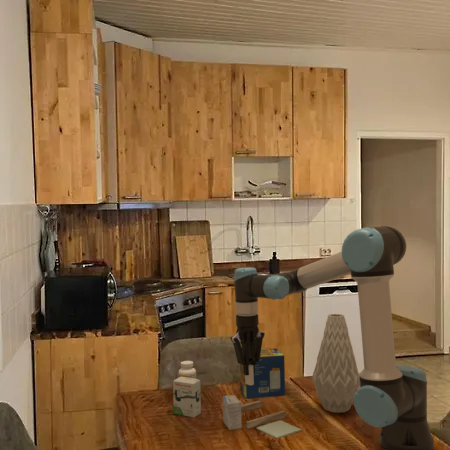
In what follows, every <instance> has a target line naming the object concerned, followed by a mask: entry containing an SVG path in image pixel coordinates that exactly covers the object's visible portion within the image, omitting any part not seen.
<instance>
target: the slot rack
mask: <svg viewBox="0 0 450 450" xmlns="http://www.w3.org/2000/svg"><path fill="white" fill-rule="evenodd" d="M259 408H262V400H256V401H252V402H249V403H245V404H241V413H244V412H248V411H253V410H256V409H259ZM221 412H222V413H221V414H222V417H223V409H222V411H221ZM286 418H287V411H286V410H281V411H277V412H274V413H271V414H268V415H264V416H261V417H256V418H254V419H253V418H252V419H251V420H247V421H245V428H246V429H247V430H249V429H253V428H255V427H256V428H257V427H260V426H263V425H266V424H270V423H273V422H276V421H280V420H281V419H286ZM262 424H263V425H262Z"/></svg>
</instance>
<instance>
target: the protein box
mask: <svg viewBox="0 0 450 450" xmlns="http://www.w3.org/2000/svg"><path fill="white" fill-rule="evenodd" d="M256 363H257V364H256V365H255V374H254V385H248V384H245V375H244V373H243V365H241V364H239V377H240V378H239V379H240V381H239V384H240V386H239V387H240V389H239V390H240V391H241V393H242V394H243V396H244V398H245V399H257V398H259V397H260V398H272V397H284V396H286V372H285V371H286V370H285V355H284V353H282V352H281V351H280V350H279V349H278V348H265V349H261V354H260V360H259V362H256Z"/></svg>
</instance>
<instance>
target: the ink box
mask: <svg viewBox="0 0 450 450" xmlns="http://www.w3.org/2000/svg"><path fill="white" fill-rule="evenodd" d="M172 384H173V387H172V390H173V391H172V392H173V394H172V395H173V398H172V399H173V415H178V416H185V417H190V418H195V417H197V416H199V415H200V414H201V413H202V405H201V403H202V400H201V399H202V397H201V380H200V379H198V378H196V379H193V378H187V377H179V376H178V377H177V378H176V379H174V380H173V381H172Z"/></svg>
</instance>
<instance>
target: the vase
mask: <svg viewBox="0 0 450 450" xmlns="http://www.w3.org/2000/svg"><path fill="white" fill-rule="evenodd" d="M346 321H347V320H346V318H345V314H342V313H329V314H328V315H327V319H326V321H325V327H324V332H323V336H322V339H321V343H320V346H319V351H318V354H317V357H316V363H315V367H314V370H313V373H312V377H311V381H312V383H313V385H314V386H315V391H316V395H317V397H318V400H319V402H320V403H321V405H322V408H323V409H324V411H327V412H330V413H336V414H340V413H346V412H349V411H350V409H351V406H352V405H353V404H354V395H355V393H356V391H357V390H358V389H359V388H360V377H359V374H360V372H359V370H358V364H357V360H356V357H355V354H354V350H353V346H352V345H353V344H352V342H351V339H350V335H349V329H348V324H347V322H346Z"/></svg>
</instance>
